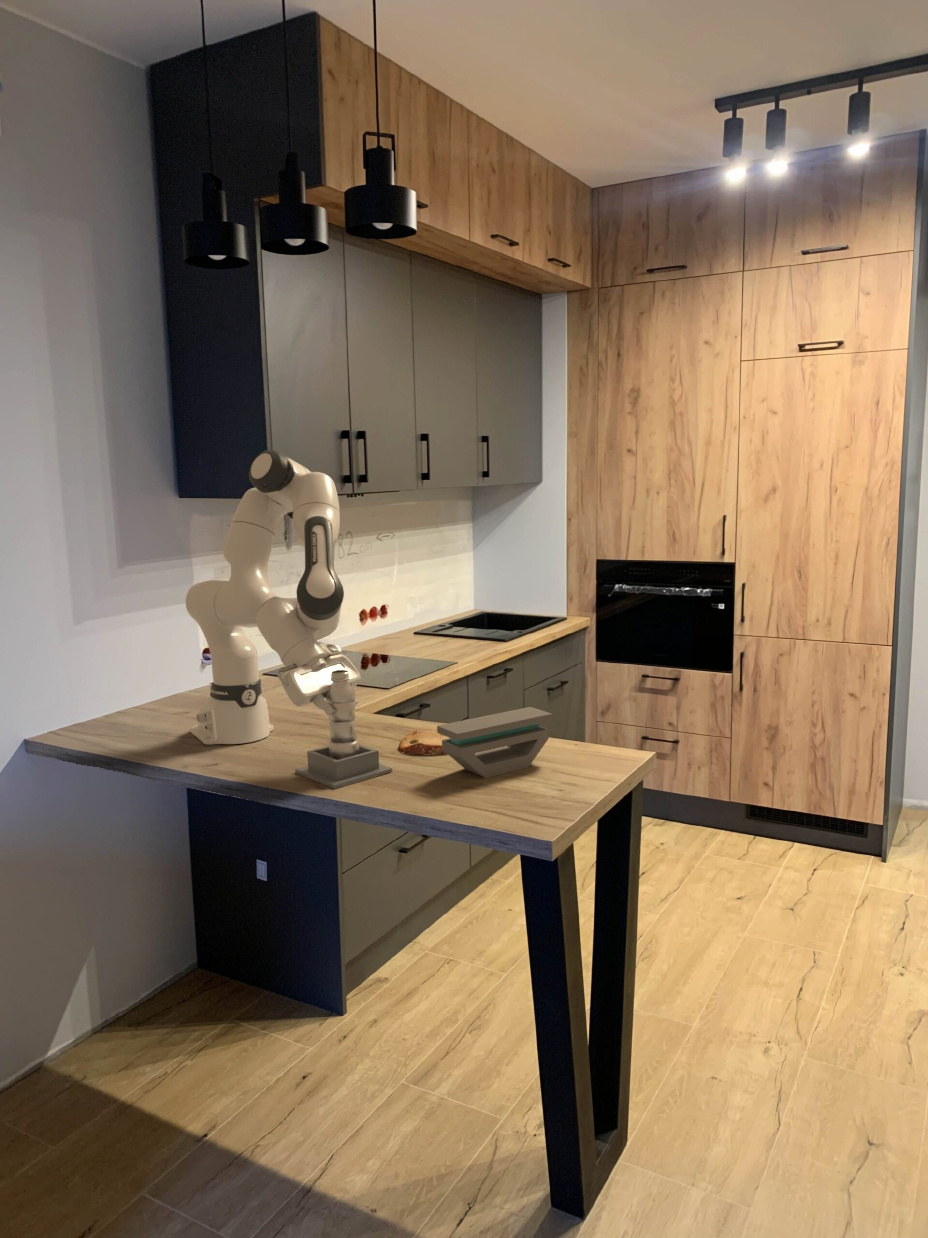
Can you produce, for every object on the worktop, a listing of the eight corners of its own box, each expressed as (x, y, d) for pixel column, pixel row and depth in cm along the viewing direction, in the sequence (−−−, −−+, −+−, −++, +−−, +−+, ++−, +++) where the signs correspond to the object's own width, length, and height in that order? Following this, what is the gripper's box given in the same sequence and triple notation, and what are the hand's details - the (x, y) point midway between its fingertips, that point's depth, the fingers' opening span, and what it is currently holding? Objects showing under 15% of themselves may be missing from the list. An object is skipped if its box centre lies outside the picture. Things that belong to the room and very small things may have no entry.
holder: (295, 772, 203) (294, 751, 202) (351, 757, 213) (350, 737, 212) (334, 789, 192) (333, 766, 191) (392, 771, 202) (391, 750, 201)
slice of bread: (494, 741, 224) (493, 726, 223) (459, 762, 208) (458, 746, 208) (429, 733, 232) (429, 718, 232) (391, 753, 217) (390, 737, 216)
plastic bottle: (358, 766, 199) (353, 674, 196) (326, 766, 199) (321, 675, 196) (362, 756, 205) (357, 668, 202) (331, 757, 206) (326, 668, 202)
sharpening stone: (530, 753, 213) (530, 706, 211) (552, 761, 206) (552, 713, 205) (438, 775, 199) (437, 725, 197) (458, 784, 193) (457, 733, 191)
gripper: (281, 660, 193) (319, 711, 190) (343, 643, 211) (379, 690, 207) (266, 679, 196) (304, 730, 193) (328, 661, 214) (364, 707, 210)
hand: (343, 709), depth 200 cm, fingers closed on plastic bottle, 6 cm apart
